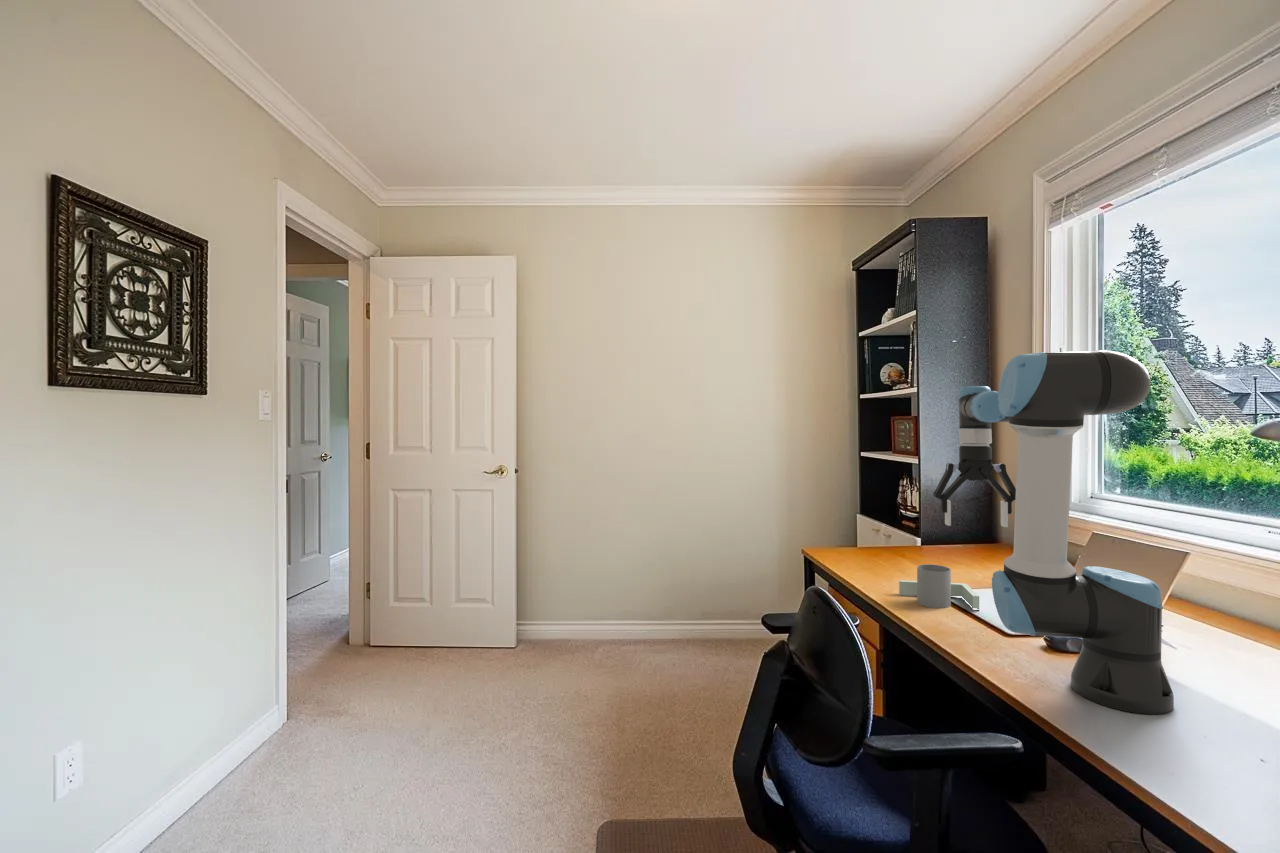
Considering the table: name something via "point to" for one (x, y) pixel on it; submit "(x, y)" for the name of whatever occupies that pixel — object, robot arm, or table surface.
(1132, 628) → the robot arm
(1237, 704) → the table surface
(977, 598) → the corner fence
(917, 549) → the table surface
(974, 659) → the table surface
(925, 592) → the cup
